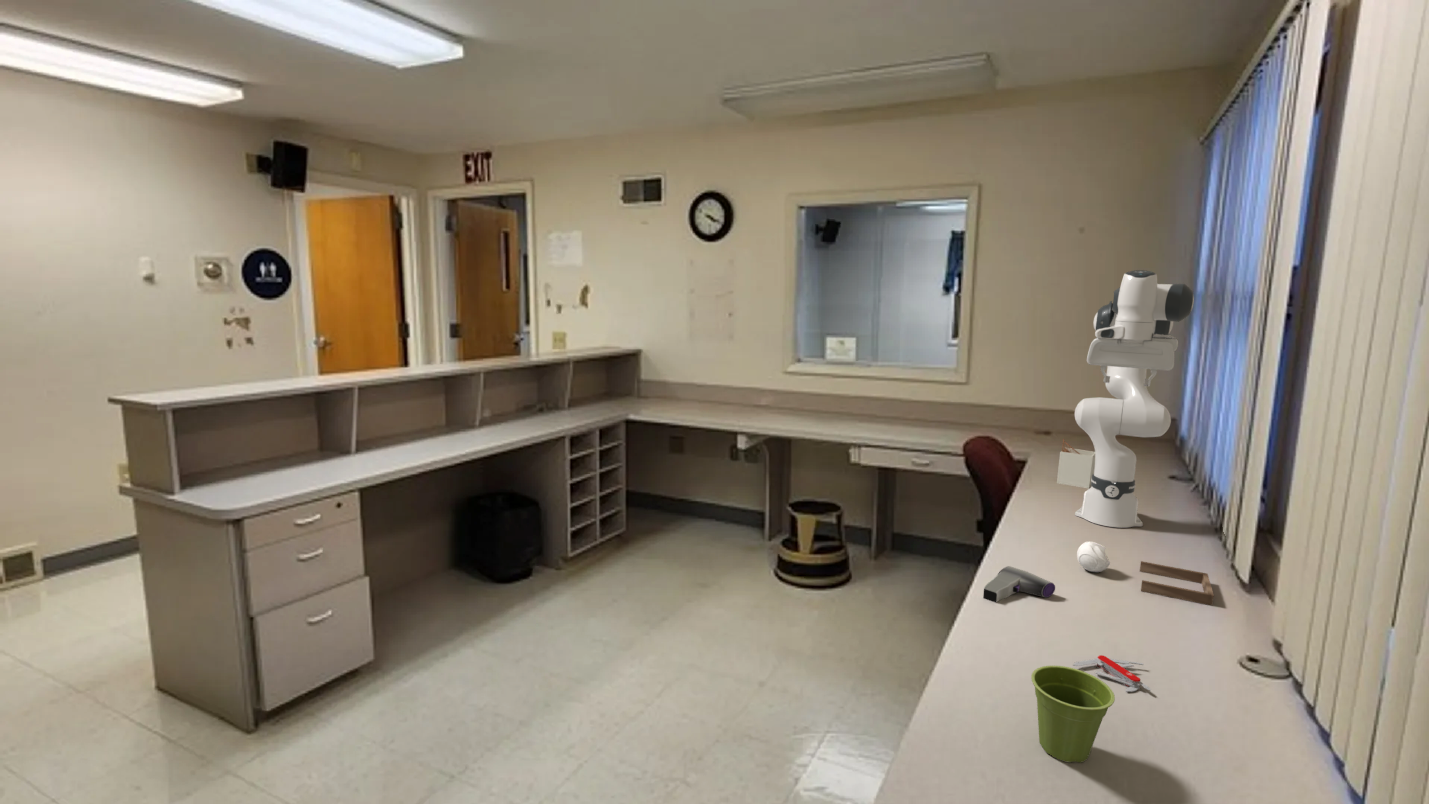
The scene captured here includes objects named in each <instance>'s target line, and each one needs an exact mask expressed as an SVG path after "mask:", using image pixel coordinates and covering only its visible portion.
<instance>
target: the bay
mask: <svg viewBox="0 0 1429 804" xmlns="http://www.w3.org/2000/svg"><path fill="white" fill-rule="evenodd" d="M1139 572H1141V573H1145V574H1146V573H1147V574H1151V575H1155V576H1162V577H1167V578H1171V579H1172V578H1173V579H1177V580H1183V581H1187V582H1192V583H1199V584H1201V585H1202V586H1201V587H1202V590H1203V591H1201V590H1199V591H1198V590H1193V589H1189V588H1185V587H1184V588H1183V587H1178V586H1174V585H1173V586H1172V585H1168V584H1164V583H1163V584H1162V583H1159V582H1158V583H1157V582H1153V581H1149V580H1144V579H1142V580H1141V585H1140V592H1142V593H1148V594H1153V595H1158V596H1163V597H1168V598H1172V599H1173V598H1174V599H1178V600H1181V601H1182V600H1183V601H1186V602H1187V601H1188V602H1191V603H1197V604H1201V605H1202V604H1203V605H1206V606H1211V607H1212V606H1213V604H1214V597H1215V595H1214V591H1213V588H1212V584H1211V581H1210V578H1209V574H1208V573H1205V572H1200V571H1195V570H1191V569H1184V568H1180V567H1175V566H1168V565H1164V564H1163V565H1162V564H1158V563H1154V562H1153V563H1152V562H1147V561H1142V560H1141V561H1140V565H1139Z"/></svg>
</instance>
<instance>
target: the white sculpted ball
mask: <svg viewBox="0 0 1429 804" xmlns="http://www.w3.org/2000/svg"><path fill="white" fill-rule="evenodd" d="M1076 559H1077V562H1078V563H1079V565H1080V566H1081V567H1082V568H1083V569H1085V570H1086V571H1088V572H1091V573H1099V572H1100V573H1101V572H1104V571H1105V570H1107V569H1108V567H1109V566H1110V565H1111V562H1110V560H1109V558H1108V556H1107V555H1106V546H1105V545H1102V544H1100V543H1097V542H1095V541H1088V540H1087V541H1084V542H1083V543H1081V545H1080V546H1079V547H1078V548H1077V551H1076Z"/></svg>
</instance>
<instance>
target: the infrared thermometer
mask: <svg viewBox="0 0 1429 804" xmlns="http://www.w3.org/2000/svg"><path fill="white" fill-rule="evenodd" d="M1055 591H1056V585H1055V584H1054V583H1053V582H1051V581H1049V580H1047V579H1045V578H1043V577H1041V576H1038V575H1036V574H1034V573H1031V572H1029V571H1026V570H1023V569H1019V568H1016V567H1013V566H1011V565H1007V566H1005V567H1003V568H1002V569H1000V570H999V572H998V573H997V575H996V576H995V577H994V578H993V579H992V580H990V581H989V582H988V583H986V585H985V586H984V587H983V595H982V596H983V599H985V600H987V601H990V602H993V603H995V604H997V602H998V601H1001V600H1003V599H1007V598H1008V597H1010V596H1011V595H1014V594H1016V593H1019V592H1022V593H1026V594H1030V595H1034V596H1039V597H1041V598H1049V597H1051V596H1052V595H1053V594H1054V593H1055Z"/></svg>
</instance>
